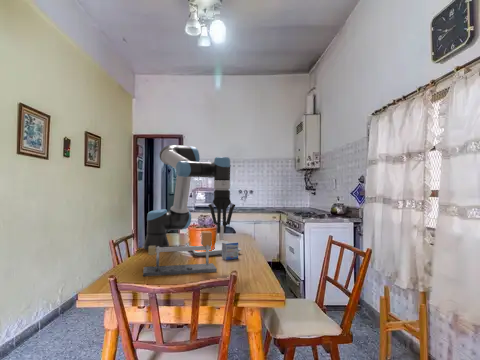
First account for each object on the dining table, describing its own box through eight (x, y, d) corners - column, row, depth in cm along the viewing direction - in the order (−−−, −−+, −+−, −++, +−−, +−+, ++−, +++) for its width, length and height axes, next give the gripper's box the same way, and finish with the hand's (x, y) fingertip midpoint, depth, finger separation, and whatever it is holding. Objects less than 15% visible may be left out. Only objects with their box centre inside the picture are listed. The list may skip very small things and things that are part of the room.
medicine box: (225, 260, 166) (226, 243, 166) (221, 258, 170) (221, 242, 170) (238, 258, 171) (238, 242, 171) (234, 256, 174) (234, 241, 174)
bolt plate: (143, 270, 145) (143, 266, 145) (212, 266, 154) (212, 262, 154) (143, 276, 136) (143, 272, 136) (216, 272, 144) (216, 268, 144)
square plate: (185, 248, 196) (185, 242, 196) (227, 246, 206) (227, 240, 206) (194, 258, 170) (194, 251, 171) (242, 255, 180) (242, 248, 180)
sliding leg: (201, 263, 150) (201, 231, 150) (209, 262, 151) (209, 231, 151) (202, 266, 144) (203, 233, 144) (211, 265, 145) (212, 232, 145)
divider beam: (148, 266, 143) (148, 245, 143) (209, 263, 150) (210, 242, 150) (148, 269, 137) (148, 247, 138) (211, 266, 145) (212, 245, 145)
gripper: (209, 189, 145) (209, 241, 144) (237, 189, 148) (236, 240, 148) (207, 189, 152) (206, 238, 152) (233, 189, 155) (232, 237, 155)
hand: (221, 239), depth 150 cm, fingers closed
